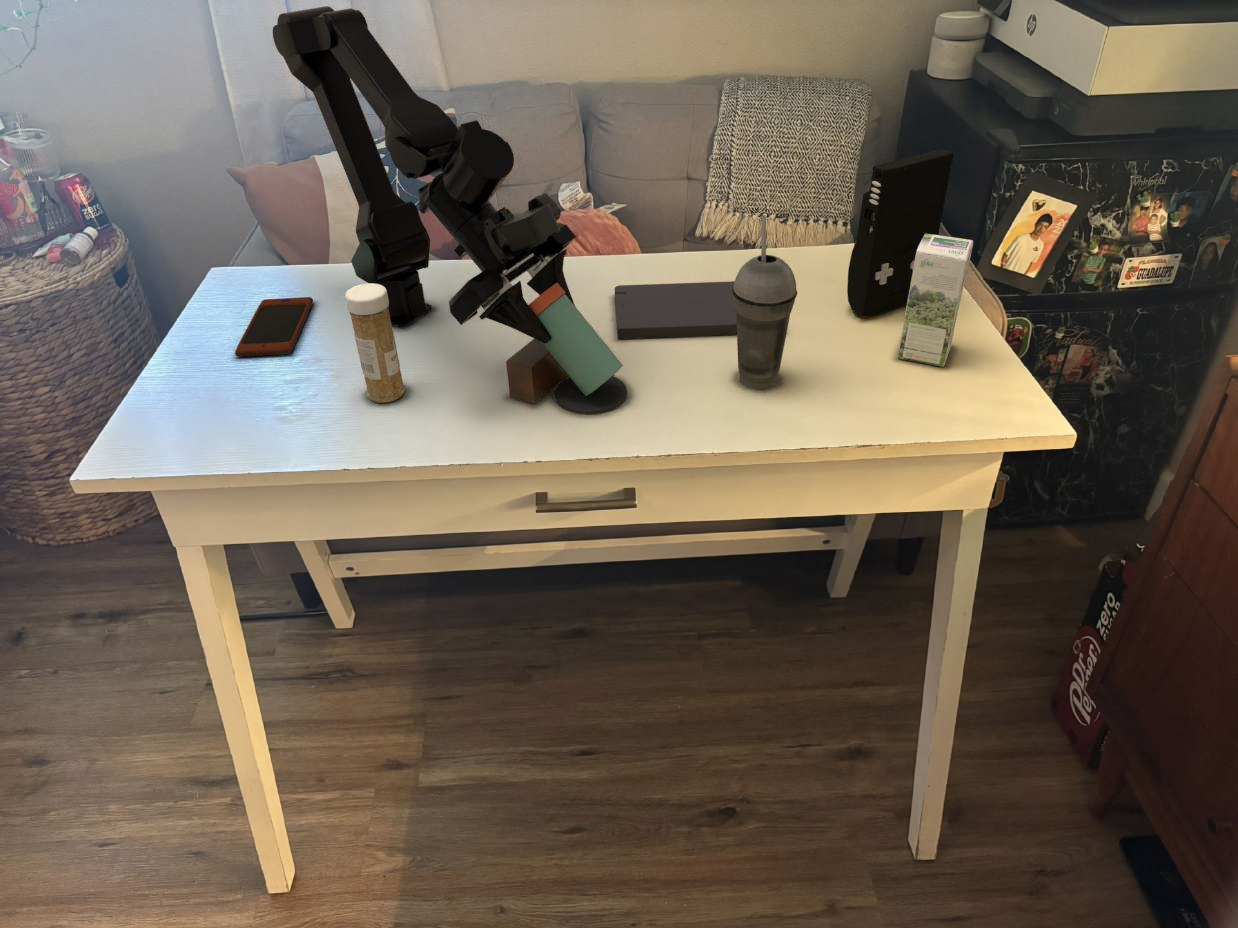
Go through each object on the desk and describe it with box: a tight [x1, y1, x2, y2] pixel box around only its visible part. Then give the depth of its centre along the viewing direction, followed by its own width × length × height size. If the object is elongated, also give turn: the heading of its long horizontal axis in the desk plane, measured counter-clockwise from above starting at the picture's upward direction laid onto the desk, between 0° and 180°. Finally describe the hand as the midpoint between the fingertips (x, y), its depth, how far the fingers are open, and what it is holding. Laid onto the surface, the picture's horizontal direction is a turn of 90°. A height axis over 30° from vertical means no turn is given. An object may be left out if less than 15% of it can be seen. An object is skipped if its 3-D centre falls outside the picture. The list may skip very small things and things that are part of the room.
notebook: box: [614, 280, 737, 340], centre depth 125 cm, size 13×2×21 cm
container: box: [528, 283, 623, 396], centre depth 107 cm, size 12×6×12 cm, turn 61°
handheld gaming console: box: [846, 148, 955, 318], centre depth 121 cm, size 12×5×20 cm, turn 120°
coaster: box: [553, 375, 628, 415], centre depth 110 cm, size 9×9×1 cm
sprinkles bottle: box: [344, 283, 406, 404], centre depth 107 cm, size 5×5×14 cm
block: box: [505, 338, 569, 405], centre depth 111 cm, size 4×10×5 cm, turn 151°
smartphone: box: [234, 296, 314, 357], centre depth 124 cm, size 7×1×15 cm
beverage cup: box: [732, 214, 798, 390], centre depth 106 cm, size 7×7×20 cm
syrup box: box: [897, 234, 974, 368], centre depth 111 cm, size 6×6×14 cm
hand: (562, 330), depth 107 cm, fingers closed on container, 5 cm apart
